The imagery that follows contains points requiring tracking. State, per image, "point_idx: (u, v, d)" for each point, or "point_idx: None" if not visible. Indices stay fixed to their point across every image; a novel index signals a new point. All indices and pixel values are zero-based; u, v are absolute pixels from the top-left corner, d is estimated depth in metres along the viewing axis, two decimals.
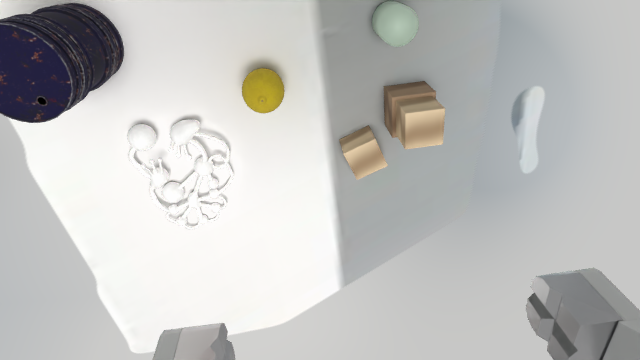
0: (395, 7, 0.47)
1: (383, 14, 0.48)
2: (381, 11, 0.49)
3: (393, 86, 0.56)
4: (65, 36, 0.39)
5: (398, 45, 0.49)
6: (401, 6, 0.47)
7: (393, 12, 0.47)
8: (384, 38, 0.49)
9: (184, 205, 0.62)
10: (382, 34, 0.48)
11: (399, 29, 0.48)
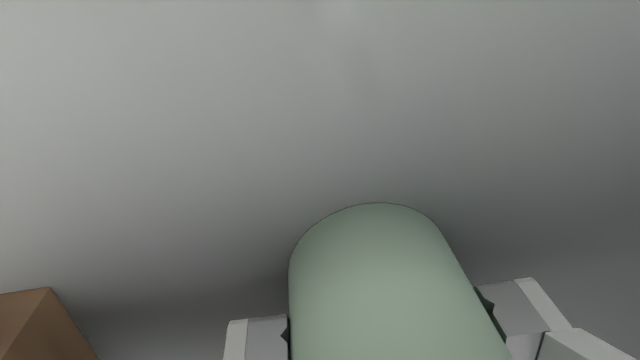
0: None
1: None
2: (467, 294, 0.08)
3: (59, 334, 0.11)
4: None
5: None
6: None
7: None
8: None
9: None
10: None
11: None
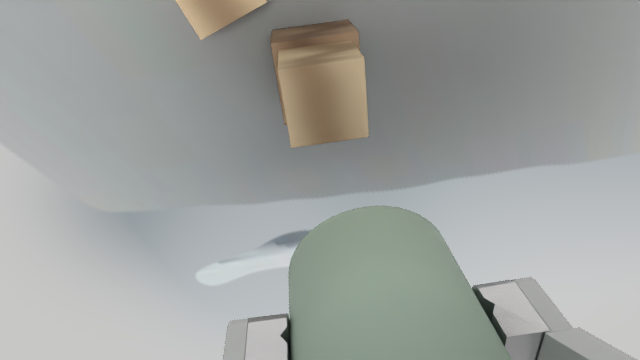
0: None
1: None
2: (467, 298, 0.08)
3: None
4: None
5: None
6: None
7: None
8: None
9: None
10: None
11: None
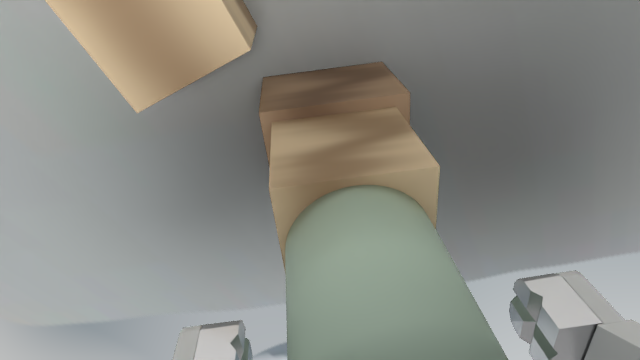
0: None
1: (470, 319, 0.08)
2: (445, 262, 0.09)
3: None
4: None
5: None
6: None
7: None
8: (338, 355, 0.07)
9: None
10: (364, 343, 0.07)
11: None
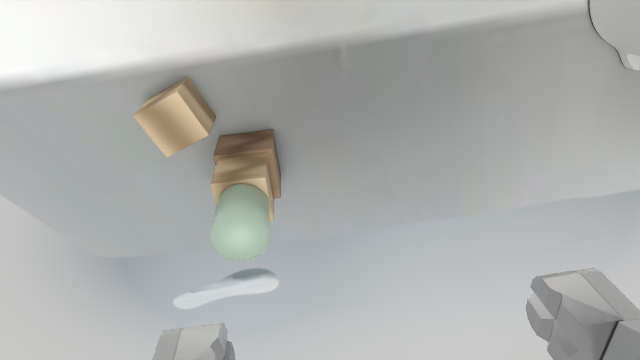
0: (265, 232, 0.33)
1: (254, 218, 0.32)
2: (257, 206, 0.34)
3: (274, 141, 0.44)
4: None
5: (212, 241, 0.33)
6: (266, 239, 0.33)
7: (259, 231, 0.32)
8: (220, 223, 0.32)
9: None
10: (226, 221, 0.32)
11: (235, 240, 0.33)
